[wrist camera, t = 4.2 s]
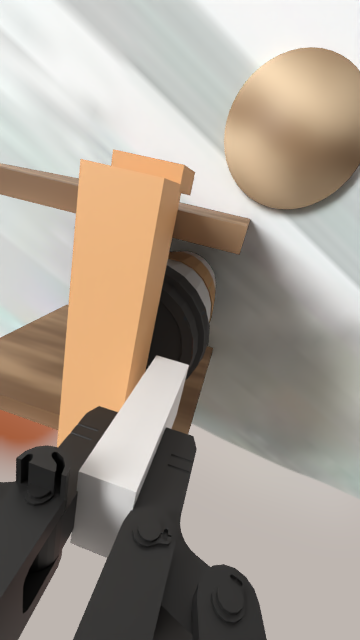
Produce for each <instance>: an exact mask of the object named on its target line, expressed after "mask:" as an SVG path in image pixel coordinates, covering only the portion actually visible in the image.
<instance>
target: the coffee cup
mask: <svg viewBox="0 0 360 640" xmlns="http://www.w3.org/2000/svg"><path fill="white" fill-rule="evenodd" d="M215 291H216V279H215V274H214V272H213V270H212V268H211V266H210V265H209V264H208V263H207V261H206V260H205V259H204V258H202V257H201V256H199V255H198V254H195V253H192V252H189V251H178V252H175V251H174V252H169V256H168V261H167V266H166V271H165V276H164V281H163V286H162V291H161V296H160V300H159V305H158V310H157V315H156V320H155V325H154V330H153V335H152V340H151V345H150V350H149V355H148V360H147V365H146V370H147V369H148V367H149V366H150V364H151V363H152V361H153V360H154V358H155V357H156V355H157V356H160V357H164V358H167V359H170V360H174V361H177V362H180V363H184V364H187V365H189V367H188V371H187V375H186V379H188V378H189V376H190V375H191V374H192V372H193V371H194V370H195V368H196V367H197V366H198V364H199V362H200V361H201V359H202V358H203V356H204V353H205V350H206V348H207V345H208V340H209V322H210V320H211V317H212V311H213V306H214V301H215ZM146 370H145V372H146ZM186 379H185V380H186Z"/></svg>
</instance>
